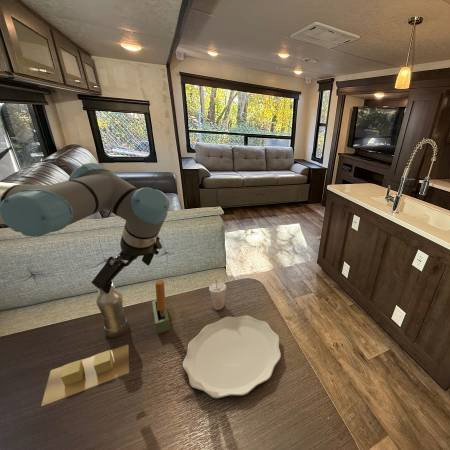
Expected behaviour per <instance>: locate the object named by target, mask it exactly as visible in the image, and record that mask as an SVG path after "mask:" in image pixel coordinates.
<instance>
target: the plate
mask: <svg viewBox="0 0 450 450" xmlns="http://www.w3.org/2000/svg"><path fill="white" fill-rule="evenodd" d="M186 350H187V351H186V355H185V356H184V359H183V361H182V368H183V370H184V371H185V373H186V374H187V377H188V381H189V385H190V386H191V388H193V389H196V390H199V391H202V392H204V393H206V394H207V395H208V396H209V397H211V398H213V399H222V398H225V397H230V396H234V397H235V396H241V397H243V396H246V395H248V394H250V392H251V391H253V390H254V389H255V388H256V387H257V386H259V385H261V384H264V383H265V382H268V381H269V380H270V379H271V377H272V375H273V372H274V369H275V367H276V365H277V364H278V362H279V361H280V360H281V358H282V357H281V356H282V353H281V350H280V337H279V334H278V333H276V332H275V331H274V330H272V328H271V326H270V325H269V323H268V322H267V321H264V320H260V319H256V318H254V317H252V316H251V315H241V316H225V317H223V318H221V319H219V320H217V321H215V322H212V323H208V324H207V325H205V326H204V327H202V329H201V330H200V332H199V333H198V334H197V335H196V336H195V337H193V338H192V339H191V340H189V342H188V345H187V349H186Z"/></svg>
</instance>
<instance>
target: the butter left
mask: <svg viewBox="0 0 450 450" xmlns="http://www.w3.org/2000/svg"><path fill="white" fill-rule="evenodd" d="M81 360H82V359H78V360H75V361H73V362H69V363H67V364H64V365H62V366H63V371H62V375H61V379H62V381H63V383H64V386H67V385H70V384H73V383H75V382H78V381H81V380H82V379H83V372H84V367H83V364H82V361H81Z"/></svg>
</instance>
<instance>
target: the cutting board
mask: <svg viewBox="0 0 450 450" xmlns="http://www.w3.org/2000/svg"><path fill="white" fill-rule="evenodd" d="M129 347H130V346H129V344H125V345H122V346H119V347H116V348H113V349H110V350H111V353H112V357H113V368H112V369H111V370H108V371H105V372H102V373H100V374H96V372H95V369H94V358H95V355H91V356H89V357H86V358H83V359H80V360H81V361H82V364H83V367H84V372H83V379H82V380H81V381H78V382H75V383H73V384H70V385H67V386H64V383H63V381H62V379H61V375H62V371H63V366H64V365H62V366H59V367H57V368H54V369H51V370H50V372H49V376H48V379H47V383H46V385H45V389H44V394H43V397H42V401H41V405H40V407H41V408H42V407H45V406H47V405H50V404H52V403H55V402H57V401H60V400H62V399H65V398H68V397H71V396H73V395H76V394H78V393H81V392H83V391H86V390H88V389H91V388H93V387H96V386H98V385H101V384H103V383H106V382H108V381H112V380H114V379H116V378H120V377H122V376H124V375H128V374H130V353H129V351H130V350H129Z"/></svg>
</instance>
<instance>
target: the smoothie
mask: <svg viewBox="0 0 450 450" xmlns="http://www.w3.org/2000/svg"><path fill="white" fill-rule="evenodd" d="M226 291H227V285H226V283H224V282H221V281H218V278H217V277H215V282H214V283H211V284H210V285H209V287H208V292H209V293H210V296H211V300H212V301H211V302H212V305H213V309H214V310H216V311H219V310H222V309H224V306H225V297H226Z"/></svg>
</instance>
